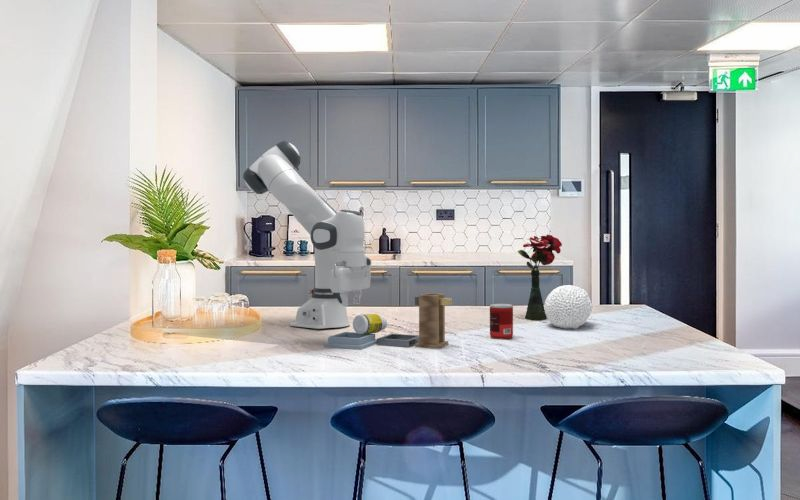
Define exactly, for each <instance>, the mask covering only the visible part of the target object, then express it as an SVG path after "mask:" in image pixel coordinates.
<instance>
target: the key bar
mask: <svg viewBox="0 0 800 500" xmlns="http://www.w3.org/2000/svg"><path fill="white" fill-rule="evenodd" d="M452 304H453V297H445V298H439V305H445V306H452ZM414 306H419V295H417V296H414Z"/></svg>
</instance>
